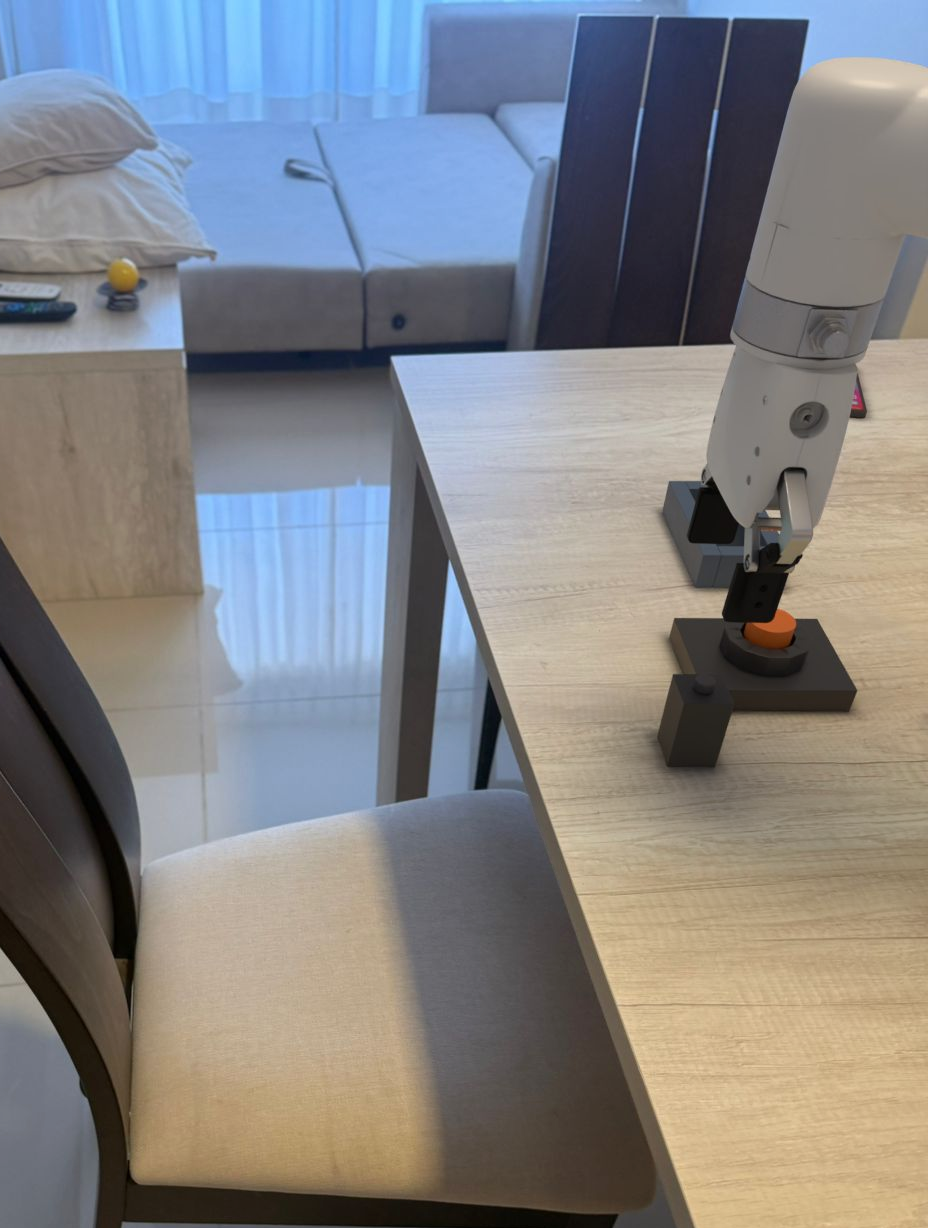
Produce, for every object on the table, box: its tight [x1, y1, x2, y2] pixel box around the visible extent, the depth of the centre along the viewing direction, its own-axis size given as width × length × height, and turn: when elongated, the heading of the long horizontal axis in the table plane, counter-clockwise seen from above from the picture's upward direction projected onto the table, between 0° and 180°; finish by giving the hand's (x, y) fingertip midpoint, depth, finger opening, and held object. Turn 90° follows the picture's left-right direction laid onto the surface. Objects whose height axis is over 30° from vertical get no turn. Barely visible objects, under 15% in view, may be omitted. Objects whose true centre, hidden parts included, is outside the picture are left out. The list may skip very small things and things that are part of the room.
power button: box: [744, 608, 796, 649], centre depth 91 cm, size 4×4×2 cm
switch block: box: [668, 617, 858, 712], centre depth 93 cm, size 12×10×4 cm
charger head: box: [656, 673, 734, 768], centre depth 84 cm, size 4×4×7 cm
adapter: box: [661, 480, 780, 589], centre depth 108 cm, size 8×14×4 cm, turn 0°
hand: (726, 579), depth 77 cm, fingers open, 9 cm apart
